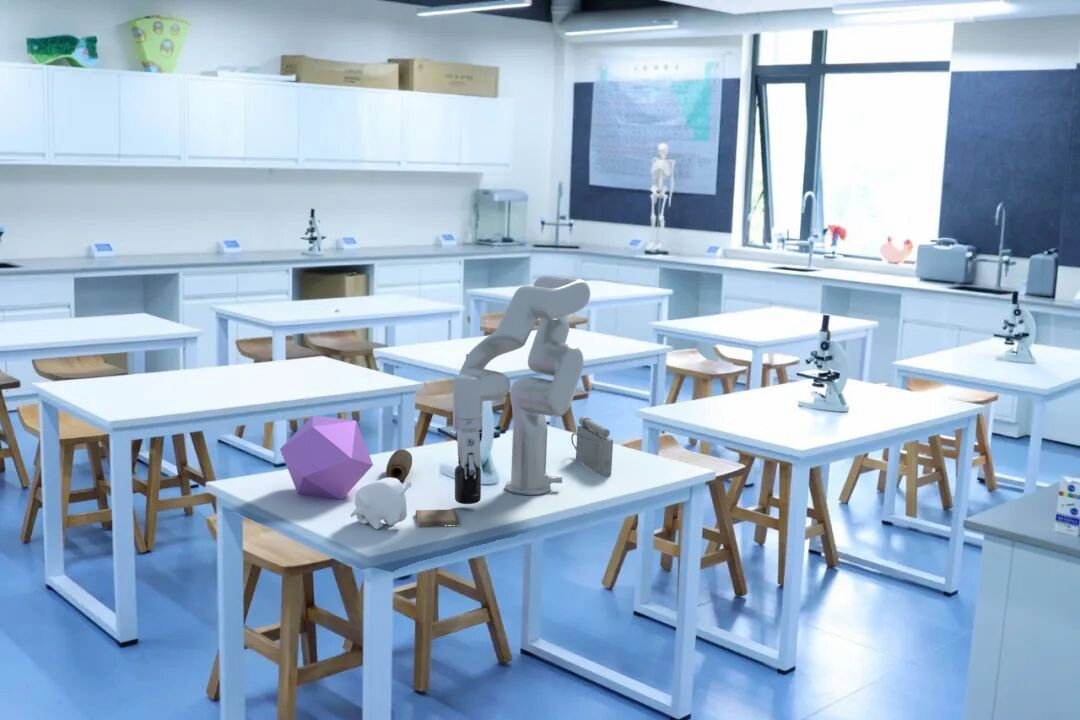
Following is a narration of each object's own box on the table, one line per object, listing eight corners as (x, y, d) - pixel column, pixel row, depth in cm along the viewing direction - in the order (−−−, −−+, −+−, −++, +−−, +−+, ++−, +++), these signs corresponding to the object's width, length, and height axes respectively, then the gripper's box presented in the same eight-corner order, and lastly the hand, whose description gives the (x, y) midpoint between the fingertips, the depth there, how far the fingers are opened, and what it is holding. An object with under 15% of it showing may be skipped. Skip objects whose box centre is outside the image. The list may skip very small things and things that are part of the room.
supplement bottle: (449, 500, 299) (449, 455, 296) (469, 494, 303) (469, 451, 301) (466, 506, 294) (466, 461, 291) (486, 500, 299) (486, 456, 296)
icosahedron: (394, 476, 301) (364, 392, 309) (323, 489, 287) (293, 400, 295) (357, 509, 317) (329, 428, 324) (288, 522, 303) (261, 438, 310)
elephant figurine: (383, 530, 290) (365, 488, 291) (434, 505, 281) (415, 462, 282) (353, 543, 280) (333, 500, 281) (404, 519, 271) (384, 474, 272)
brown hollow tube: (388, 469, 334) (388, 447, 333) (412, 469, 334) (412, 447, 333) (385, 483, 319) (385, 460, 318) (410, 484, 320) (411, 460, 318)
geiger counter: (617, 429, 333) (583, 411, 356) (597, 430, 331) (564, 412, 354) (615, 475, 336) (580, 454, 359) (595, 477, 333) (562, 455, 356)
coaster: (454, 513, 294) (454, 509, 293) (459, 526, 284) (459, 521, 284) (415, 514, 292) (415, 509, 291) (419, 527, 282) (419, 522, 282)
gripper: (487, 430, 287) (487, 498, 290) (477, 413, 303) (477, 478, 307) (457, 432, 285) (457, 500, 289) (449, 414, 302) (449, 479, 306)
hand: (467, 488), depth 298 cm, fingers closed on supplement bottle, 6 cm apart
